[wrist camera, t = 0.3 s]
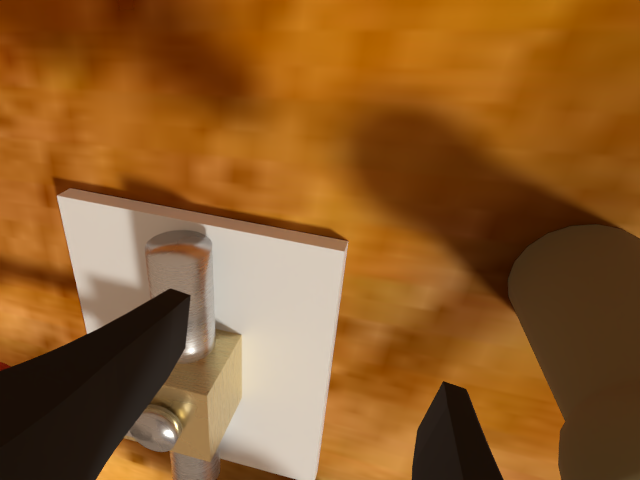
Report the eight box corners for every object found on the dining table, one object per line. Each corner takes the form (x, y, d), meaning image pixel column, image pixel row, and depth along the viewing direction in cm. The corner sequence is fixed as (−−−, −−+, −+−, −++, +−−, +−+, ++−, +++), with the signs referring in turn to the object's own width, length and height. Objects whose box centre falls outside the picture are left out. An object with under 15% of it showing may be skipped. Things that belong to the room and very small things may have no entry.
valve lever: (181, 409, 22) (148, 464, 20) (185, 441, 24) (153, 497, 21) (-21, 356, 24) (-75, 401, 22) (-8, 388, 25) (-58, 434, 23)
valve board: (317, 470, 31) (313, 484, 30) (116, 416, 34) (107, 427, 33) (348, 241, 22) (344, 251, 21) (70, 188, 25) (56, 195, 24)
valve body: (241, 459, 31) (214, 525, 27) (172, 440, 32) (136, 502, 28) (242, 240, 22) (201, 292, 19) (147, 221, 23) (90, 268, 19)
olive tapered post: (484, 311, 22) (513, 548, 13) (549, 204, 19) (648, 416, 10) (606, 355, 22) (727, 632, 13) (693, 254, 19) (940, 523, 9)
